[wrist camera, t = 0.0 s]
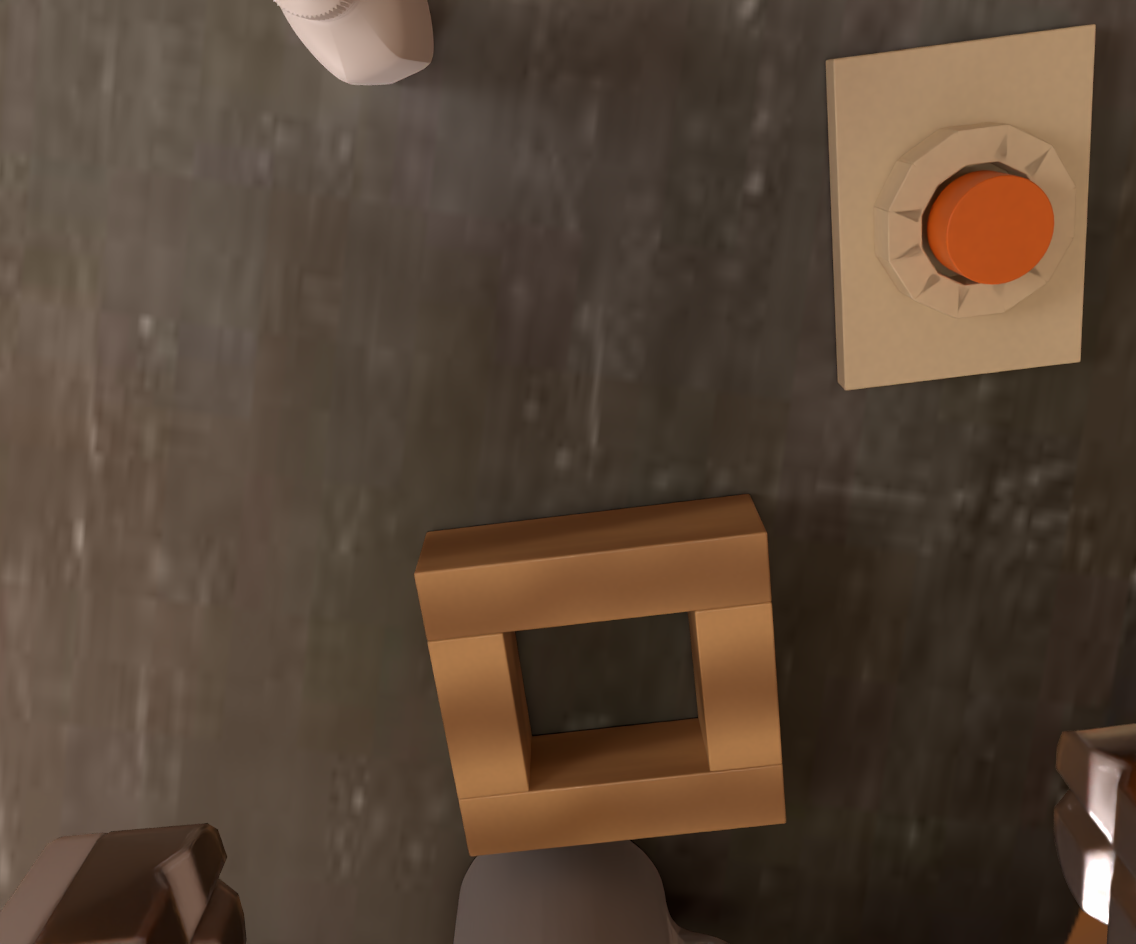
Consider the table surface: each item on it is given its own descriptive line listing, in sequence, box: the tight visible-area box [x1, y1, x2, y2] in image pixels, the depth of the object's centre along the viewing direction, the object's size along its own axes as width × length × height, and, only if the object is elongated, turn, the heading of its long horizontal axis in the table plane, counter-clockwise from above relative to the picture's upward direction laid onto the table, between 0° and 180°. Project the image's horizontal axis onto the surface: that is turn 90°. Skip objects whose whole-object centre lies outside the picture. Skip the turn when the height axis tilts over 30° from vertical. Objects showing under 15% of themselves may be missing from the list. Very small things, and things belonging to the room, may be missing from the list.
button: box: [927, 170, 1054, 285], centre depth 36 cm, size 4×4×2 cm
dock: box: [414, 494, 786, 856], centre depth 44 cm, size 14×14×4 cm
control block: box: [826, 24, 1096, 390], centre depth 38 cm, size 12×9×3 cm
